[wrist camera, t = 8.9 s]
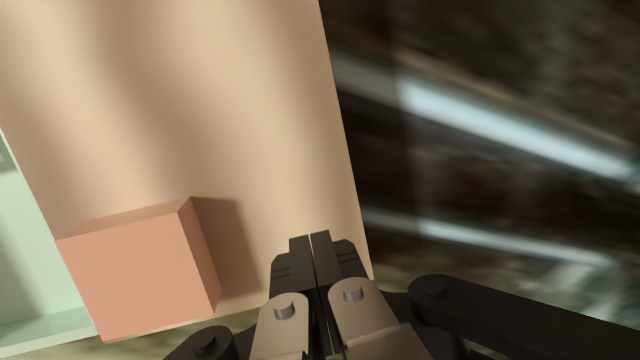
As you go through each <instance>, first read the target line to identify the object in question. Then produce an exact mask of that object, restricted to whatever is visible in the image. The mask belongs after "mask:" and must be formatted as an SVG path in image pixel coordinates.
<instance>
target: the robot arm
mask: <svg viewBox="0 0 640 360" xmlns="http://www.w3.org/2000/svg"><path fill="white" fill-rule="evenodd" d="M310 239H311V244H310V240H309V236H308V234H306V235H302V236H298V237H294V238H289V252H287V253H283V254H279V255H277V256H276V257H275V259H274V260H273V261H272V263H271V273H270V287H269V301H267V302H266V303H265V304H264V305H263V306H262V308H261V309H260V312H259V316H258V321H257V323H256V324H255V325H253V326H252V327H250V328H248V329H246V330H244V331H242V332H240V333H238V334H236V335H234V336H233V335H232V332H231V330H230V329H229V328H227V327H225V326H219V325H217V326H210V327H207V328H204V329H202V330H199V331H198V332H196V333H194V334H193V335H191V336H190V337H189V338H187V339H186V340H185V341H184V342H183V343H182V344H180V345H179V346H178V347H177V348H176V349H175V350H173V351H172V352H171V353H170V354H169V355H168V356H166V357H165V358H164V359H163V360H326V358H325V357H327V356H331V355H333V354H332V348H331V343H330V337H329V332H330V336H331V340H332V344H333V348H334V353H335V354H338V353H341V355H342V360H495V359H493V358H490V357H488V356H486V355H483V354H481V353H479V352H476V351H474V350H472V349H470V343H469V340H470V341H472V342H475V343H477V344H480V345H482V346H484V347H487V348H489V349H492V350H494V351H497V352H499V353H501V354H503V355H505V356H507V357H508V358H509V359H511V360H640V331H639V330H635V329H632V328H628V327H625V326H621V325H618V324H614V323H611V322H607V321H604V320H600V319H597V318H593V317H590V316H586V315H583V314H579V313H576V312H573V311H569V310H566V309H562V308H559V307H555V306H552V305H548V304H545V303H541V302H538V301H534V300H531V299H527V298H524V297H520V296H517V295H513V294H510V293H506V292H503V291H500V290H496V289H493V288H489V287H486V286H482V285H479V284H475V283H472V282H468V281H465V280H461V279H458V278H454V277H451V276H447V275H442V274H429V275H424V276H421V277H419V278H417V279H415V280H414V281H412V282H411V284H410V285H409V287H408V292H405V293H392V292H386V291H382V290H380V289H378V287H377V285H376V284H375V283H374V282H373V281H372V280H370V279H369V277H368V275H367V273H366V270H365V268H364V266H363V263H362V261H361V259H360V256H359V254H358V253H357V250H356V247H355V245H354V243H352V242H350V241H349V240H347V239H342V240H338V241H334V242H332V239H331V235H330V232H329V229H328V230H323V231H319V232H315V233H310ZM311 245H312V248H311ZM312 250H313V253H312ZM313 256H314V257H313ZM326 319H327V321H326ZM327 323H328V326H327ZM328 327H329V332H328Z"/></svg>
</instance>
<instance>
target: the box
mask: <svg viewBox="0 0 640 360" xmlns="http://www.w3.org/2000/svg"><path fill="white" fill-rule="evenodd" d="M0 153H1V155H2V157H3V159H4V161H5V162H2V163H0V358H4V357H8V356H12V355H16V354H20V353H24V352H28V351H33V350H37V349H41V348H45V347H49V346H53V345H58V344H62V343H66V342H70V341H74V340H78V339H82V338H87V337H91V336H95V335H99V332H98V330H97V328H96V326H95V324H94V322H93V320H92V318H91V316H90V314H89V312H88V310H87V308H86V306H85V303H84V301H83V299H82V297H81V295H80V293H79V291H78V289H77V287H76V285H75V283H74V281H73V279H72V277H71V275H70V273H69V270H68V268H67V266H66V264H65V262H64V260H63V258H62V256H61V254H60V252H59V250H58V248H57V246H56V244H55V242H54V241H55V239H54V237H53V235H52V233H51V231H50V229H49V227H48V225H47V223H46V221H45V219H44V217H43V215H42V213H41V210H40V208H39V206H38V204H37V202H36V200H35V198H34V196H33V194H32V192H31V190H30V188H29V186H28V184H27V182H26V179H25V177H24V175H23V173H22V171H21V169H20V167H19V165H18V163H17V161H16V159H15V157H14V155H13V153H12V151H11V149H10V146H9V144H8V142H7V140H6V138H5V136H4V134H3V132H2V130H1V128H0Z"/></svg>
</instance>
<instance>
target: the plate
mask: <svg viewBox="0 0 640 360" xmlns="http://www.w3.org/2000/svg"><path fill="white" fill-rule="evenodd" d="M0 128H1V130H2V132H3V134H4V136H5V138H6V140H7V142H8V144H9V146H10V149H11V151H12V153H13V155H14V157H15V159H16V161H17V163H18V165H19V167H20V169H21V171H22V173H23V175H24V177H25V179H26V182H27V184H28V186H29V188H30V190H31V192H32V194H33V196H34V198H35V200H36V202H37V204H38V206H39V208H40V210H41V213H42V215H43V217H44V219H45V221H46V223H47V225H48V227H49V229H50V231H51V233H52V235H53V237H54V239H55V240H56V239H58V238H59V237H61V236H62V235H64V234H65V233H67V232H68V231H69V230H71V229H72V228H74V227H75V226H77V225H78V224H80V223H81V222H83V221H87V220H91V219H96V218H100V217H104V216H108V215H113V214H117V213H121V212H125V211H130V210H134V209H138V208H143V207H147V206H151V205H155V204H160V203H164V202H168V201H172V200H177V199H181V198H185V197H189V196H190V197H191V200H192V203H193V206H194V209H195V212H196V215H197V217H198V220H199V223H200V226H201V229H202V232H203V235H204V238H205V241H206V243H207V246H208V249H209V252H210V255H211V258H212V261H213V264H214V266H215V269H216V272H217V275H218V278H219V281H220V284H221V287H222V292H221V295H220V298H219V301H218V304H217V307H216V310H215V313H214V315H211V316H207V317H202V318H198V319H194V320H190V321H186V322H182V323H178V324H173V325H169V326H165V327H161V328H157V329H153V330H149V331H144V332H140V333H136V334H132V335H128V336H124V337H120V338H115V339H111V340H107V341H104V343H105V344H108V343H113V342H117V341H121V340H125V339H129V338H133V337H137V336H142V335H146V334H150V333H154V332H158V331H162V330H166V329H171V328H175V327H179V326H183V325H187V324H191V323H195V322H200V321H204V320H208V319H212V318H216V317H220V316H224V315H229V314H233V313H237V312H241V311H245V310H249V309H253V308H258V307H262V306H263V305H264V304H265V303H266V302H267V301H269V287H270V273H271V263H272V261H273V260H274V259H275V257H276V256H277V255H279V254H283V253H287V252H289V238H294V237H298V236H302V235H306V234H308V236H309V240H310V244H311V239H310V233H315V232H319V231H323V230H328V229H329V232H330V235H331V239H332V242H334V241H338V240H342V239H347V240H349V241H350V242H352V243H354V245H355V247H356V250H357V253H358V254H359V256H360V259H361V261H362V263H363V266H364V268H365V270H366V273H367V275H368V277H369V279H370V280H374V277H373V272H372V267H371V262H370V257H369V252H368V247H367V242H366V237H365V232H364V227H363V222H362V217H361V212H360V207H359V202H358V197H357V192H356V187H355V182H354V177H353V172H352V167H351V162H350V157H349V152H348V147H347V142H346V137H345V132H344V127H343V122H342V117H341V112H340V107H339V102H338V97H337V92H336V87H335V82H334V77H333V72H332V67H331V62H330V57H329V52H328V47H327V42H326V37H325V32H324V28H323V23H322V18H321V13H320V8H319V3H318V0H0ZM311 248H312V245H311ZM312 253H313V250H312ZM313 257H314V256H313Z"/></svg>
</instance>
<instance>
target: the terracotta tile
mask: <svg viewBox="0 0 640 360" xmlns="http://www.w3.org/2000/svg"><path fill="white" fill-rule="evenodd" d="M54 242H55V244H56V246H57V248H58V250H59V252H60V254H61V256H62V258H63V260H64V262H65V264H66V266H67V268H68V270H69V273H70V275H71V277H72V279H73V281H74V283H75V285H76V287H77V289H78V291H79V293H80V295H81V297H82V299H83V301H84V303H85V306H86V308H87V310H88V312H89V314H90V316H91V318H92V320H93V322H94V324H95V326H96V328H97V330H98V332H99V334H100V336H101V339H102V341H107V340H111V339H115V338H120V337H124V336H128V335H132V334H136V333H140V332H144V331H149V330H153V329H157V328H161V327H165V326H169V325H173V324H178V323H182V322H186V321H190V320H194V319H198V318H202V317H207V316H211V315H214V313H215V310H216V307H217V304H218V301H219V298H220V295H221V292H222V287H221V284H220V281H219V278H218V275H217V272H216V269H215V266H214V264H213V261H212V258H211V255H210V252H209V249H208V246H207V243H206V241H205V238H204V235H203V232H202V229H201V226H200V223H199V220H198V217H197V215H196V212H195V209H194V206H193V203H192V200H191V197H190V196H189V197H185V198H181V199H177V200H172V201H168V202H164V203H160V204H155V205H151V206H147V207H143V208H138V209H134V210H130V211H125V212H121V213H117V214H113V215H108V216H104V217H100V218H96V219H91V220H87V221H83V222H81V223H80V224H78V225H77V226H75V227H74V228H72V229H71V230H69V231H68V232H67V233H65V234H64V235H62V236H61V237H59V238H58V239H56V240H55V241H54Z"/></svg>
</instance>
